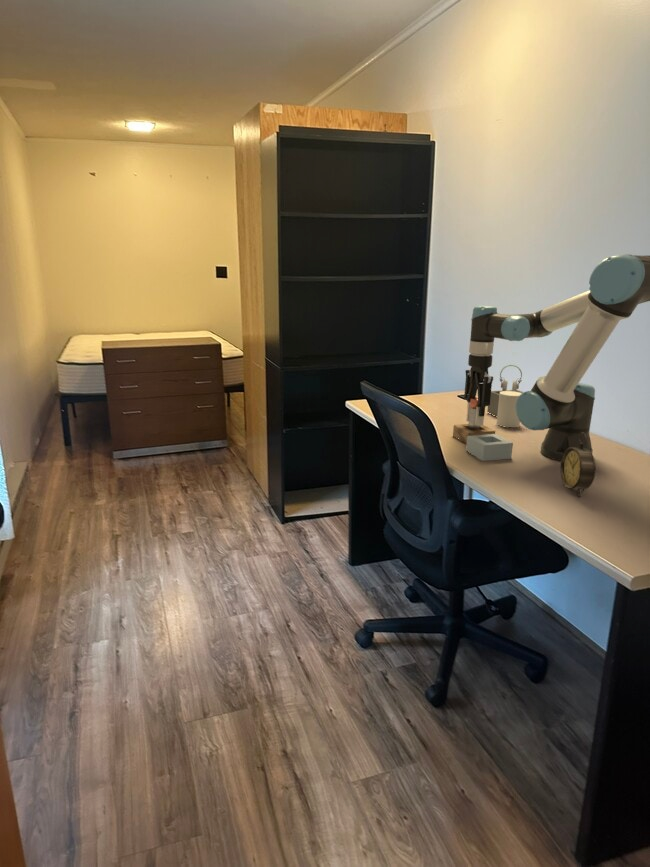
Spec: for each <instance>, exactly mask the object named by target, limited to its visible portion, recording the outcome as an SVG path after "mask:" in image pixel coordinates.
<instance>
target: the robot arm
mask: <svg viewBox="0 0 650 867" xmlns="http://www.w3.org/2000/svg"><path fill="white" fill-rule="evenodd" d="M588 284H589V290H587V291H584V292H582V293H580V294H577V295H574V296H573V297H570V298H567V299H565V300H563V301H560V302H557V303H556V304H552V305H551V306H548V307H545V308H544V309H542V310H541V309H540V310H538V311H536V312H533V313H524V314H523V313H520V314H504V313H503V314H502V313H498V308H497V307H496V306H494V305H476V306H474V307H473V309H472V315H471V325H470V326H471V328H470V338H469V349H468V352H469V353H470V354H469V355H468V362H467V365H468V366H469V367H470V369H465V383H464V384H465V385H464V396H463V397H464V399H465V400H466V402H467V406H466V408H467V409H466V422H469V412H470V400H471V398H478V405H476V406H477V407H476V418H475V426H480V425H484V420H485V413H486V412H485V411H486V407H488V406H490V398H491V391H492V387H493V385H492V384H493V381H494V376H490V375H489V368H491V367H492V366H493V355H492V354H494V345H495V344H494V343H495V339H500V340H501V339H502V340H505V341H506V340H507V341H510V342H522V341H523V340H525V339H529V338H532V339H533V338H542V337H543V338H544V337H548V336H550V335H551V334H552V333H553V332H554V331H557V330H560V329H563V328H566V327H568V326H572V325H573V324H574V325H575V324H576V326H575V328H574V329H573V331H572V332H571V334H570V336H569V337H568V339H567V341H566V342H565V344H564V346H563V347H562V349H561V351H560V352H559V354H558V356H557V357H556V359H555V360H554V362H553V363H552V366H551V367H550V369H549V370H548V371H547V374H546V375H545V376H540V377H538V378H537V380H536V381H535V383H534V384H533V386H532V387H531V389H530V390H527V391H523V392H524V393H523V394H521V395H520V396H519V397H518V399H517V402H516V412H517V417H518V419H519V421H520V424H522V426H524V427H525V428H526V429H528V430H531V431H544V430H547V431H546V434H545V437H544V439H543V441H542V443H541V445H540V449H539V452H540V453H541V455H543V456H545V457H548V458H550V459H551V460H556V461H561V459H562V456H563V454H564V452H565V451H566V450H567V449H568V448H570V447H575V448H579V447H580V441H581V443H585V435H584V434H581V436H580V441H579V435H580V433H582V432H583V433H585V434H586V437H587V441H586V444H585V445H583V448H586V449H588V450H589V451H590V452H591V453H592V454H593V447H592V446H593V445H592V442H591V435H590V429H591V423H592V416H593V411H594V403H595V400H596V397H595V395H596V389H595V387H594V386H593V385H591V384H586V383H582V382H581V380H582V379H583V377H584V376H585V374H586V373H587V371H588V369H589V368H590V366H591V365H592V363H593V362H594V360H595V359H596V357H597V356H598V354H599V353H600V351H601V349H602V348H603V347H604V345H605V344H606V342H607V340H608V339H609V337H610V336H611V334H612V333H613V332H614V330H615V329H616V327H617V325H618V324H619V322H621V321H622V320H624V319H625V320H626V319H629V318H630V317H631V315H632V314H633V312H634V311H635V309H636V308H637V307H638V305H641V304H643V303H647V302H650V255H636V254H635V255H633V254H628V253H626V254H617V255H612V256H609V257H607V258H604V259H603V260H602V261H600V262H599V263H598V264H597V265H596V267H594V269H593V271H591V274H590V277H589V282H588Z"/></svg>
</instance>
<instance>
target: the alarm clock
mask: <svg viewBox="0 0 650 867" xmlns="http://www.w3.org/2000/svg"><path fill="white" fill-rule="evenodd" d="M581 434H584V435H585V443H581V441H580V436H581ZM579 441H580V447H579V448H575V447H570V448H568V449H567V450H566V451H565V452H564V454H563V456H562V459H561V460H560V466H559V467H560V470H559V471H560V478H561V481H562V483H563V486H564V487H565V488H567V489H568V490H577V491H576V492H577V496H578V498H581V497H582V495H581V491H583V492H585V490H587V489H588V488H589V487H591V485H592V484H593V482H594V480H595V477H596V470H597V469H596V468H597V467H596V460H595V457H594V455H593V453H591V452H590V451H589V450H588V449H586V448H583V445H585V444H586V441H587V437H586V434H585V433H583V432H582V433H580V435H579Z"/></svg>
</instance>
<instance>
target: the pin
mask: <svg viewBox="0 0 650 867" xmlns="http://www.w3.org/2000/svg"><path fill="white" fill-rule="evenodd" d="M476 405H478V397H475V398H471V400H470V412H469V421H468V423H467V424H468V429H469V430H471V431H474V430H480V427H481V425H480V426H475V418H476V407H477V406H476Z"/></svg>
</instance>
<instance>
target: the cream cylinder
mask: <svg viewBox="0 0 650 867" xmlns="http://www.w3.org/2000/svg"><path fill="white" fill-rule="evenodd" d="M501 391H502V390H501ZM521 394H522V393H520V392H514V391H502V392H500V394H499V404H498V414H497V418H496V425H497V424H498V425H501V426H505V427H518V426H519V427H520V425H521V422H520V421H519V419H518V417H517V412H516V402H517V399H518V397H519V396H520V395H521ZM498 425H497V426H498ZM519 427H518V428H519Z"/></svg>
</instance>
